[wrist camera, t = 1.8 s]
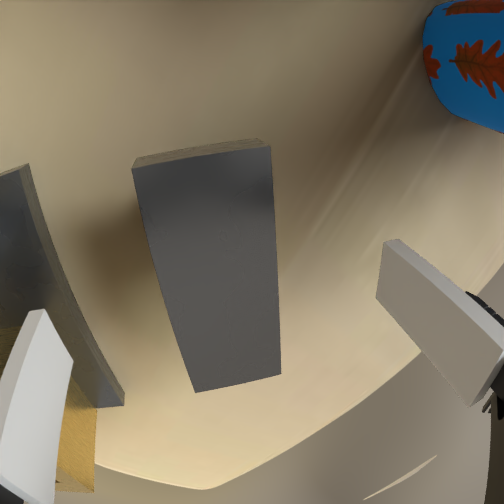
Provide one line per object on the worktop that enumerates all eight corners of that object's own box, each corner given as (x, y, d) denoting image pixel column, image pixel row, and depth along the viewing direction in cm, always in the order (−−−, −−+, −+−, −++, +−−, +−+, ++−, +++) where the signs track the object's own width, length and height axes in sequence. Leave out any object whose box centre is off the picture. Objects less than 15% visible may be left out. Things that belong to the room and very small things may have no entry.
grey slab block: (152, 130, 16) (131, 168, 8) (222, 118, 17) (270, 145, 9) (181, 279, 21) (195, 392, 13) (239, 268, 22) (281, 373, 14)
